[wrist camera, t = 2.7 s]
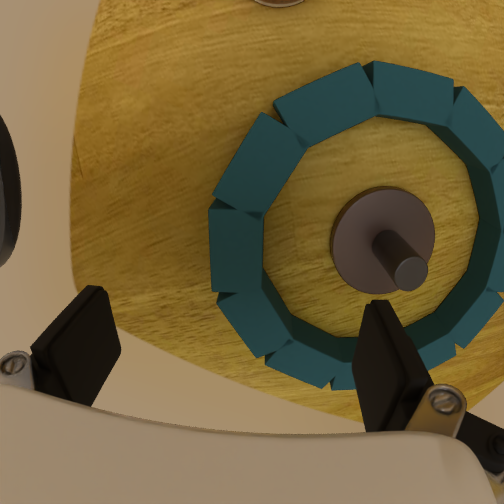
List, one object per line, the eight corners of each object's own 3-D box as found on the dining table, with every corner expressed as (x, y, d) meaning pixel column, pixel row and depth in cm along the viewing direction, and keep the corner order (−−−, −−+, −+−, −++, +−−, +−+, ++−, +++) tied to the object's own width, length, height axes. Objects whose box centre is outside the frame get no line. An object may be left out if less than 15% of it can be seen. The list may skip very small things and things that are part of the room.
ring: (222, 362, 24) (218, 388, 21) (216, 61, 15) (207, 51, 13) (460, 354, 23) (473, 374, 20) (517, 110, 15) (542, 113, 12)
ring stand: (324, 288, 21) (337, 332, 16) (335, 181, 18) (356, 202, 13) (418, 288, 20) (446, 327, 16) (437, 191, 18) (478, 213, 13)
